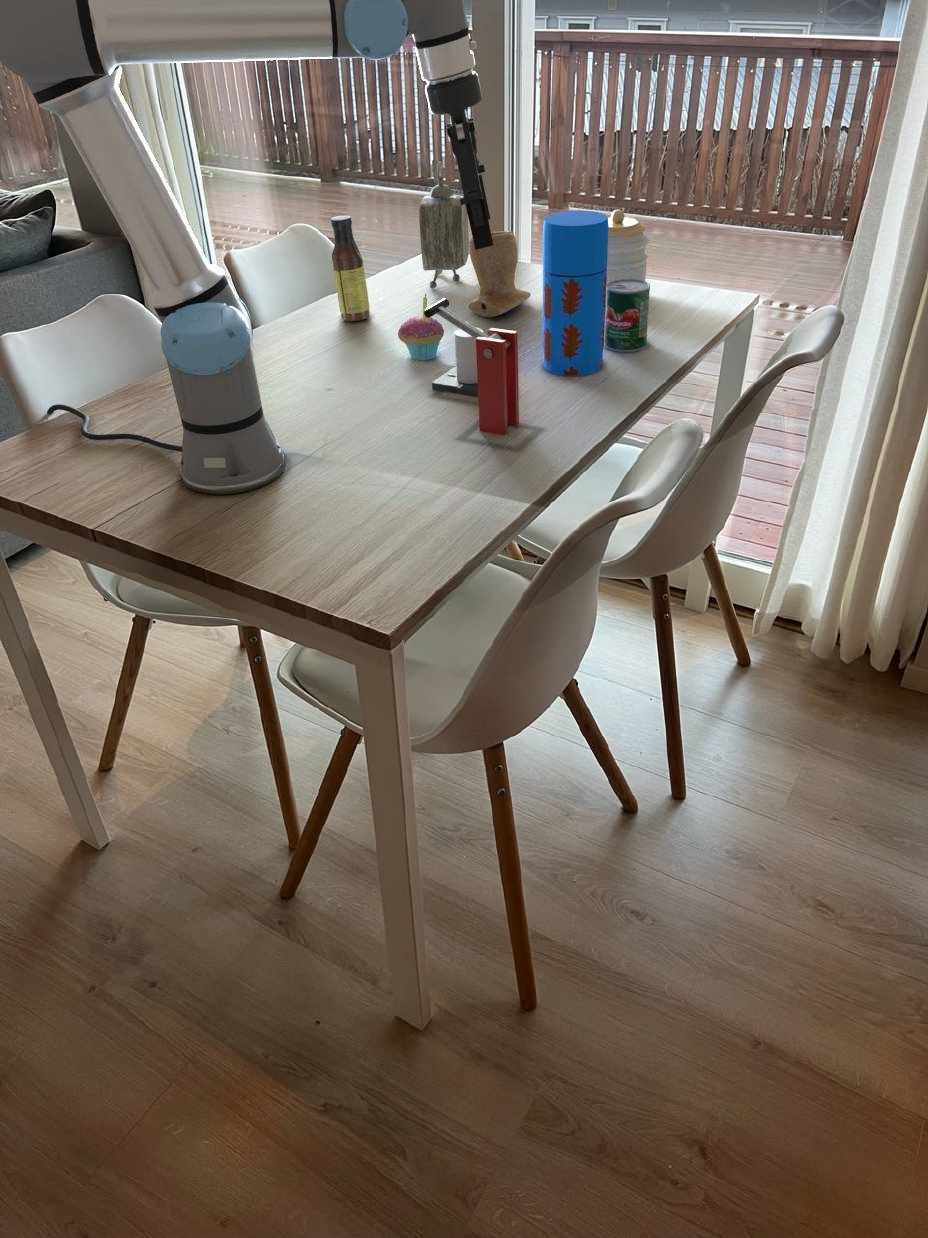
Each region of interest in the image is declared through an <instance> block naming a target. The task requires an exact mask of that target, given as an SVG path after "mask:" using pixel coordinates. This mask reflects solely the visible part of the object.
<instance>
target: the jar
mask: <svg viewBox="0 0 928 1238" xmlns="http://www.w3.org/2000/svg"><path fill="white" fill-rule="evenodd" d="M608 225H609V233H608V257H607V282H606V285H607V284H608V283H609V282H611V281H615V280H621V279H636V280H642V281H645V282H646V278H647V265H648V264H647V263H648V259H649V257H648V254H647V245H648V244H649V242H650V239H649V238H648V236H647V235H645V234H644V232H645V231H646V226H645V225H644V224H642V223H641V222H640V221H639V220H638V219H636V218H633V217H626V216H625V213H624V211H623V210H621V209H614V210H613V211H612V213H611V216H610V217H608Z"/></svg>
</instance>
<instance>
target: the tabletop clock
mask: <svg viewBox="0 0 928 1238" xmlns="http://www.w3.org/2000/svg"><path fill="white" fill-rule="evenodd" d="M436 179H437V185H434V186H433V187H432V188H431V189H430V192H429V195H425V196H423V197H422V199H421V201H420V204H419V207H418V208H419V209H418V218H419V219H418V221H419V239H420V240H419V241H420V251H421V262H422V269H423V271H435V272H434V276H433V280H431V281H430V282H429V284H428V286H429V288H430V289H433V290H434V289H436V288H437V279H438V277H439V275H441V274H443V271H452V273H453V276H452V280H453V281H454V282H459V281H460V279H461V276H460V275H459V274H458V273H457V270H459V269H461V268H462V267H464V266H466V264H467V261H468V258H469V256H470V237H469V236H470V235H469V234H470V233H469V218H468V214H467V209H466V205H465V204H464V205H461V203H460V198H463V196H461V195H459V194H454V193H453V190H452V188H450V187H449V186H448V185H447V184H444V166H443V161H438V162H437V165H436Z"/></svg>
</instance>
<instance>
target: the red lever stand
mask: <svg viewBox="0 0 928 1238" xmlns="http://www.w3.org/2000/svg"><path fill="white" fill-rule="evenodd" d="M495 333H496V334H498V335H499V336H501V337H503V338H504V339H506V340H507V341H509V342H510V343H511V344H510V346H509V349H508V351H507V353H506V343H505V340H499V339H492V338H485V337H478V338H476V357H477V380H478V397H477V400H478V401H477V402H478V421H479V422H478V423H479V427H478V428H479V432H483V433H487V434H488V433H489V434H493V435H498V436H503V437H504V436H506V435H508V433H509V431H508V425H511V426H518V425H519V424H520V399H519V397H520V392H519V391H520V390H519V389H520V388H519V387H520V386H519V331H517V330H509V329H502V328H494V327H490V328H489V329H488V336H490V337H491V336H492V335H494V334H495Z"/></svg>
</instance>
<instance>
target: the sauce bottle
mask: <svg viewBox="0 0 928 1238" xmlns="http://www.w3.org/2000/svg"><path fill="white" fill-rule="evenodd" d="M330 224H331V226H332V229H333V236H334V238H333V240H334V246H333V247H334V248H333V249H332V253H331V261H332V267H333V275H334V282H335V287H336V294H337V300H338V308H339V312H340V317H341V319H342V320H343V321H346V322H360V321H365V320H367V319H368V318H369V317H370V315H371V311H370V302H369V301H370V300H369V292H368V286H367V280H366V273H365V265H364V259H363V256H362V254H361V251H360V250H359V247H358V245H357V243H356V241H355V238H354V233H353V227H352V225H353V220H352V217H351V216H350V215H337V216H333V217H332V218H330Z"/></svg>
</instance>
